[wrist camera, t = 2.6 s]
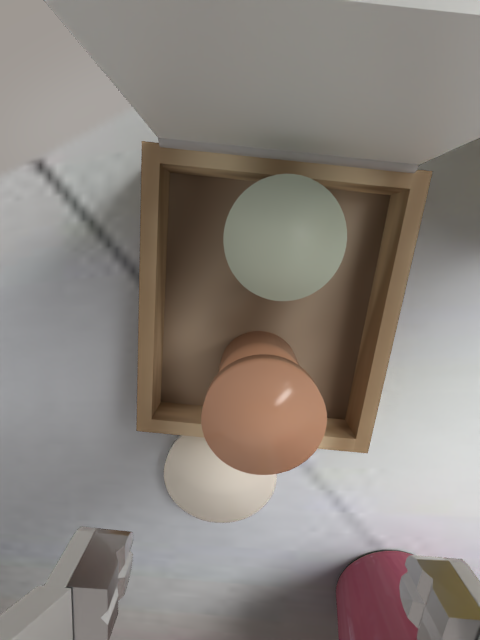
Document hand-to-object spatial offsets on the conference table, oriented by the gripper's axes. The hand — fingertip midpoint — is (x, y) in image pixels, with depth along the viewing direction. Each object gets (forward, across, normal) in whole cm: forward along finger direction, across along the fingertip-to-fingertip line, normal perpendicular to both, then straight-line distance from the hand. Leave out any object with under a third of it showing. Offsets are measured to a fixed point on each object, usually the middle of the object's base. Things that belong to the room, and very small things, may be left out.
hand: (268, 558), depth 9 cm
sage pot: (+14, 0, -9) cm, 17 cm away
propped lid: (+12, 0, -14) cm, 18 cm away
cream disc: (+15, +2, +9) cm, 17 cm away
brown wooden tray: (+14, 0, -5) cm, 15 cm away
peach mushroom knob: (+14, 0, 0) cm, 14 cm away
